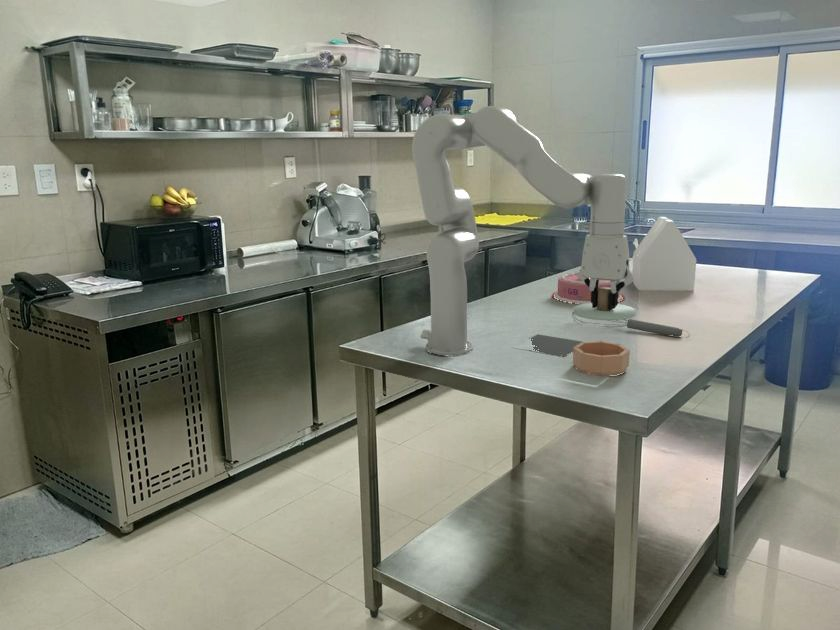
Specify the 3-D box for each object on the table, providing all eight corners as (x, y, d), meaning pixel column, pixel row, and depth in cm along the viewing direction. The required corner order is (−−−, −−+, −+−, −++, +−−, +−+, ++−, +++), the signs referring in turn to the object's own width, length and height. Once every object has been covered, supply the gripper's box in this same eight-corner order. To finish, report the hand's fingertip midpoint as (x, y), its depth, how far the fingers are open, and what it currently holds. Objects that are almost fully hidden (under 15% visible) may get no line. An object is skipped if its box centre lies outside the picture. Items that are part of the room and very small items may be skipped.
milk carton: (683, 282, 255) (688, 216, 249) (693, 290, 240) (699, 221, 234) (631, 281, 258) (635, 216, 252) (638, 290, 243) (642, 221, 237)
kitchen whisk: (686, 341, 180) (688, 319, 179) (568, 326, 199) (568, 305, 197) (691, 336, 185) (693, 314, 184) (575, 321, 204) (576, 301, 202)
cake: (543, 302, 228) (544, 272, 226) (561, 288, 250) (562, 260, 247) (618, 308, 218) (620, 276, 215) (630, 293, 240) (632, 264, 237)
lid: (563, 315, 155) (564, 291, 154) (587, 303, 166) (588, 280, 165) (622, 323, 147) (623, 297, 146) (643, 310, 158) (645, 286, 156)
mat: (511, 348, 177) (511, 347, 177) (537, 335, 188) (537, 334, 188) (564, 358, 168) (564, 357, 168) (587, 343, 180) (587, 342, 180)
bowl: (566, 371, 159) (567, 351, 158) (586, 357, 168) (587, 338, 167) (615, 380, 152) (616, 359, 151) (633, 366, 161) (634, 346, 160)
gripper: (566, 229, 154) (564, 307, 158) (637, 233, 144) (633, 315, 148) (579, 225, 159) (577, 300, 164) (648, 229, 150) (644, 308, 154)
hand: (604, 307), depth 156 cm, fingers closed on lid, 3 cm apart
